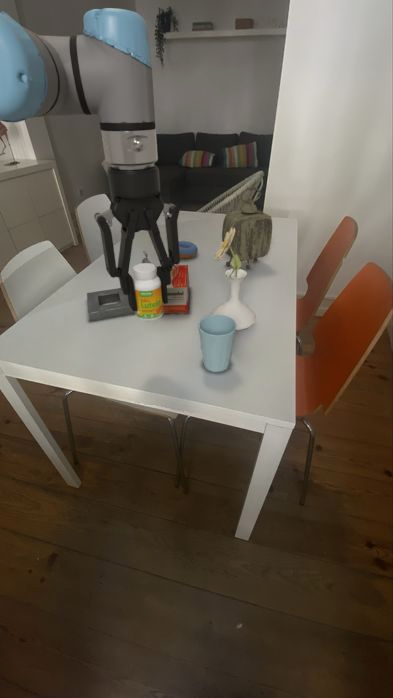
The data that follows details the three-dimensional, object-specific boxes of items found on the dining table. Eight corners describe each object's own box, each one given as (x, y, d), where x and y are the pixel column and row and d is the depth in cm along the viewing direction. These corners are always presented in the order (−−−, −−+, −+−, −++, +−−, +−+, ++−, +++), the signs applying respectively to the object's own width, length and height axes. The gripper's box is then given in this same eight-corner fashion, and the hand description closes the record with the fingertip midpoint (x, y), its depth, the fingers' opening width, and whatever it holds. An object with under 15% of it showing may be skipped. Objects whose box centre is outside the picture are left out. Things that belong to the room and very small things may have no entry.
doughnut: (202, 253, 120) (202, 241, 118) (188, 262, 114) (187, 250, 111) (181, 249, 125) (180, 237, 122) (166, 257, 118) (165, 245, 115)
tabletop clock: (257, 258, 115) (265, 182, 100) (270, 268, 109) (281, 188, 93) (220, 265, 112) (223, 187, 96) (232, 275, 105) (236, 193, 90)
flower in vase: (221, 307, 89) (225, 213, 73) (261, 316, 85) (273, 219, 69) (200, 331, 80) (199, 230, 64) (243, 343, 76) (252, 238, 60)
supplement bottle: (141, 324, 59) (134, 276, 53) (132, 311, 63) (125, 264, 57) (167, 317, 61) (164, 269, 55) (157, 304, 65) (153, 259, 59)
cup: (228, 350, 73) (230, 312, 67) (238, 372, 67) (241, 332, 61) (196, 355, 72) (195, 316, 66) (203, 378, 66) (202, 337, 60)
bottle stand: (90, 321, 84) (88, 313, 83) (88, 300, 93) (86, 292, 92) (134, 313, 87) (133, 305, 86) (128, 294, 96) (127, 286, 94)
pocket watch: (172, 275, 106) (170, 246, 99) (159, 286, 100) (156, 255, 93) (151, 272, 108) (147, 242, 102) (137, 282, 102) (133, 252, 96)
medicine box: (163, 288, 98) (161, 264, 94) (189, 288, 98) (188, 263, 94) (159, 314, 87) (156, 287, 82) (188, 313, 86) (187, 287, 82)
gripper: (71, 174, 40) (105, 326, 55) (200, 163, 47) (200, 301, 61) (63, 166, 46) (95, 306, 60) (179, 157, 52) (184, 285, 66)
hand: (148, 303), depth 61 cm, fingers closed on supplement bottle, 5 cm apart
